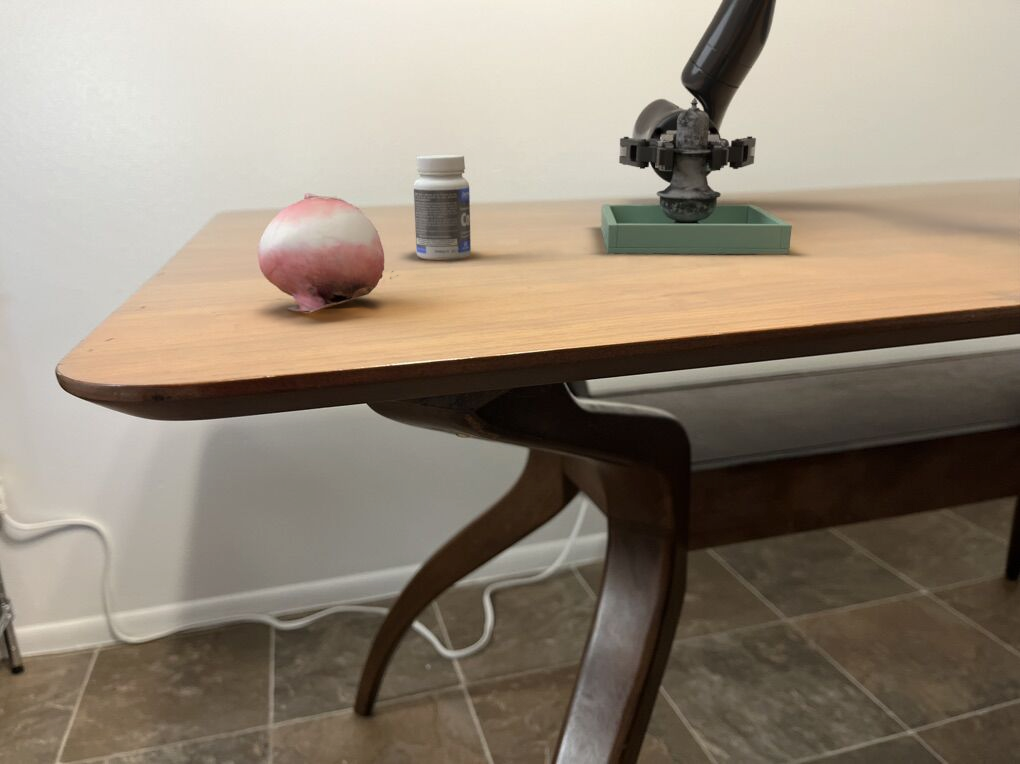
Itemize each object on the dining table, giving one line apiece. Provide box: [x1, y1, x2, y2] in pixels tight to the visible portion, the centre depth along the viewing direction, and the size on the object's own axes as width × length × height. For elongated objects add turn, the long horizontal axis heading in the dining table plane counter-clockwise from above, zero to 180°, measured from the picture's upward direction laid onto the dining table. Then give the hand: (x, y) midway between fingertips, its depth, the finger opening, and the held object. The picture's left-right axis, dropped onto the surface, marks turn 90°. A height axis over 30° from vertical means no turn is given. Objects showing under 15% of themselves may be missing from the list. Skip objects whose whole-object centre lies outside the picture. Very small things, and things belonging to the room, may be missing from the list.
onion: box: [257, 192, 385, 314], centre depth 52 cm, size 8×8×7 cm
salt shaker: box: [656, 97, 722, 224], centre depth 75 cm, size 6×6×12 cm
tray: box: [600, 204, 793, 255], centre depth 77 cm, size 16×15×2 cm
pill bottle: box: [413, 154, 472, 261], centre depth 69 cm, size 5×5×8 cm
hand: (693, 157), depth 72 cm, fingers closed on salt shaker, 3 cm apart
